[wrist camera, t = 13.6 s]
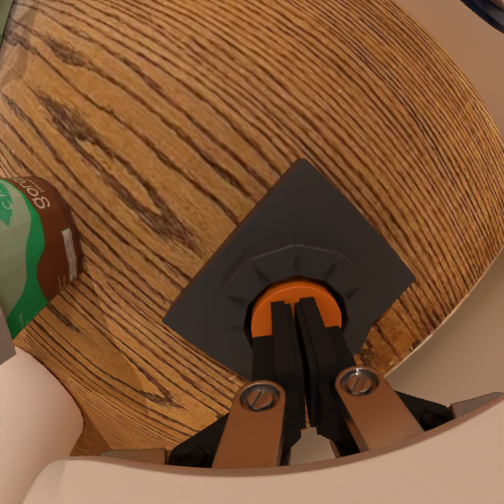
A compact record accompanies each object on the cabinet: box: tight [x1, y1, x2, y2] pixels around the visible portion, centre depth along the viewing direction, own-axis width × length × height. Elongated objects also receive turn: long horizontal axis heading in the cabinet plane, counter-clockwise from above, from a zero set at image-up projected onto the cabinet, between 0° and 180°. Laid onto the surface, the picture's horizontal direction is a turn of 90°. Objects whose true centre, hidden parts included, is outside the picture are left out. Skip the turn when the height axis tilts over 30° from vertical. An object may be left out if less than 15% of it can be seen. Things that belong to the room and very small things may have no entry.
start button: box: [251, 276, 342, 338], centre depth 11 cm, size 4×4×2 cm
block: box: [162, 158, 416, 382], centre depth 12 cm, size 10×8×4 cm
